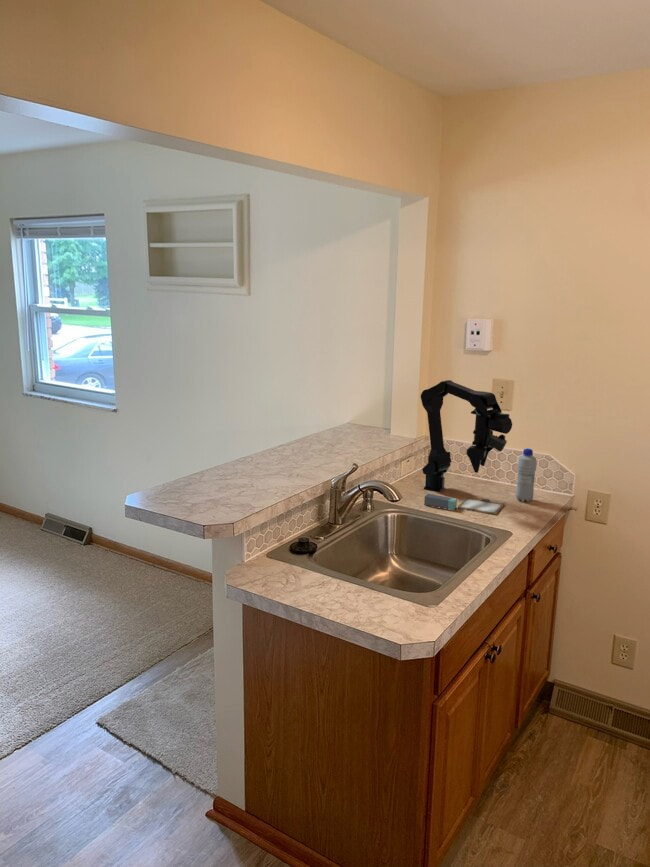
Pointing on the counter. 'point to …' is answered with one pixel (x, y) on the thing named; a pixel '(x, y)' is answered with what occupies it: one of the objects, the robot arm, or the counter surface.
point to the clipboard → (481, 505)
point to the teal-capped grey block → (440, 501)
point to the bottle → (526, 476)
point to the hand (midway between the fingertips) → (479, 469)
